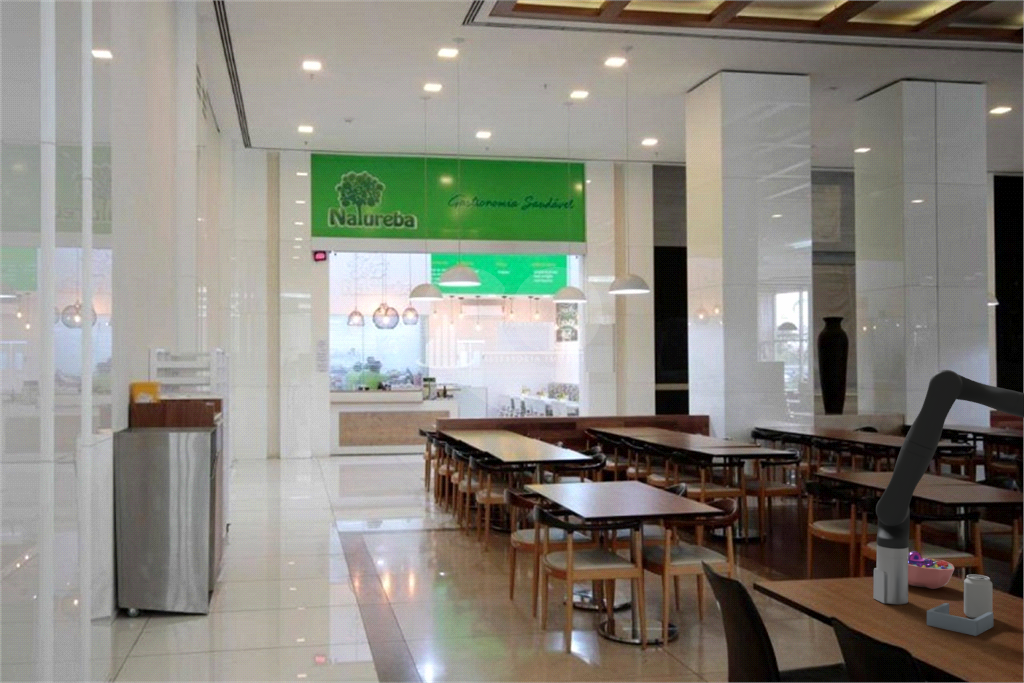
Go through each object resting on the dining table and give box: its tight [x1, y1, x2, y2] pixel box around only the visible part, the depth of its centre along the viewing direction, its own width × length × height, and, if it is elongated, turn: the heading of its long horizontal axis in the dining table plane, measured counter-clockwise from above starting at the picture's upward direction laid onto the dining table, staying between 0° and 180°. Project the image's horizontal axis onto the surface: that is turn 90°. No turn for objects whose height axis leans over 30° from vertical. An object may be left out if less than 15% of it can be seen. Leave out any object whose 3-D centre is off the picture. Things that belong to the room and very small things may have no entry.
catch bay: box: [926, 602, 994, 637], centre depth 263 cm, size 13×13×4 cm
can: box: [963, 573, 993, 619], centre depth 272 cm, size 8×8×12 cm
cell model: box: [908, 550, 955, 590], centre depth 306 cm, size 17×20×11 cm
